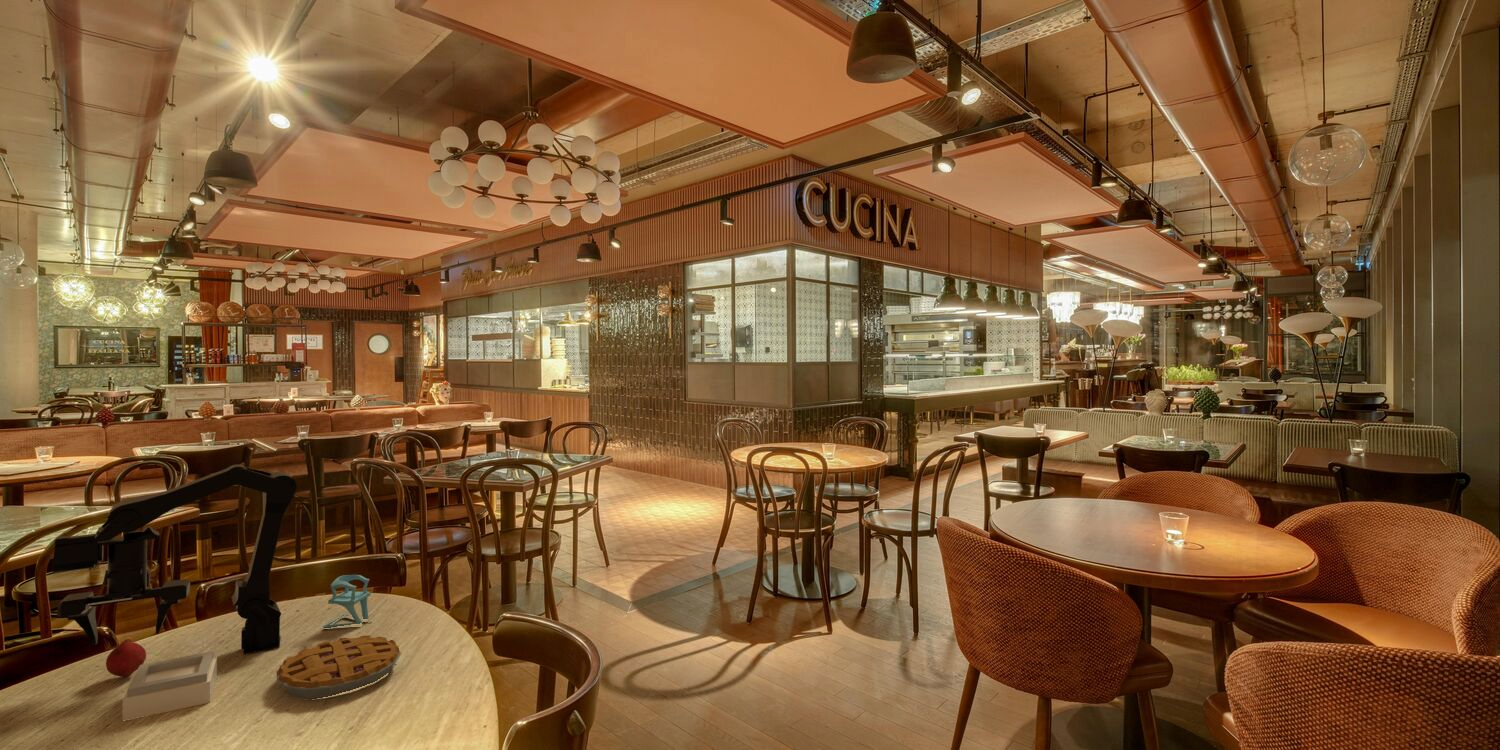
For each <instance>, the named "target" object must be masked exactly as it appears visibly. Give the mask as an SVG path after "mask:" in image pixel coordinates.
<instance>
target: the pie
mask: <svg viewBox="0 0 1500 750" xmlns="http://www.w3.org/2000/svg"><path fill="white" fill-rule="evenodd" d="M401 655H402V653H401V650H400V648H399V645H397V643H396V641H395V640H394V639H389V640H388V639H387V637H384V636H376V637H373V636H371V635H366V634H365V635H361V636H359V637H352V638H351V637H340V638H339V639H338V640H334V641H331V642H330V641H324V642H321V643H318V644H317V645H316V646H314V647H311V648H304V649H302V650H300V651H298V652H297V653H296V654H295V655H293V656H288V657H286V658H285V659H284V660H283V662H282V664H280V665H279V668H278V669H277V670H276V681H277V682H278V683H279V684H281V685H282V687H283V688H284V689H285V692H287V693H288V694H290V695H291V696H292V697H294V698H295V697H296V699H300V698H301V700H305V699H306V701H313V700H312V699H317V698H323V697H328V696H332V695H336V694H339V693H342V692H346V691H350V690H353V689H356V688H359V687H362V686H365V685H367V684H370V683H373V682H375V681H377V680H378V679H380V678H381V677H383V676H384V675H386V674H387V673H389V672H390V673H391V671H392V669H393V667H394V665H395V664H396V663H397V662H398V660H399V658H400V656H401ZM390 670H391V671H390ZM390 673H389V674H390Z"/></svg>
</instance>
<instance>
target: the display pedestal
mask: <svg viewBox="0 0 1500 750" xmlns="http://www.w3.org/2000/svg"><path fill="white" fill-rule="evenodd" d="M214 655H215V652H214V651H208V652H204V653H203V652H202V653H196V654H191V655H187V656H181V657H175V658H170V659H165V660H160V661H155V662H149V663H143V664H142V665H140V666H139V668H138V669H137V670H136V671H135V673H134V676H133V678H132V680H131V682H130V683H129V686H128V688H127V689H126V693H125V694H124V696H123V698H122V721H123V720H127V719H132V718H137V717H141V718H143V717H142V716H146V717H148V716H147V715H150V716H154V715H153V714H155V715H159V714H163V713H167V712H172V711H177V710H182V709H185V708H191V707H195V706H199V705H203V704H204V705H205V704H209V703H211V699H212V694H213V693H214V687H215V685H216V680H217V677H218V676H217V674H218V657H217V656H216V657H215V656H214ZM137 719H138V718H137ZM132 720H133V719H132Z"/></svg>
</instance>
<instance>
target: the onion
mask: <svg viewBox="0 0 1500 750" xmlns="http://www.w3.org/2000/svg"><path fill="white" fill-rule="evenodd" d="M132 640H133V639H132V637H126V638H125V639H124V640H123V641H122V642H121V643H120V644H119V645H117V646H116V647H115V648H113V649H112V651H110V653H109V654H108V655H107V658H106V660H105V667H106V670H107V671H108V673H109V674H110V675H113V676H117V677H121V678H129V677H130V676H132V675H133V674H135V673H136V672H137V670H138V668H139V666H140V665H142V664H145V661H146V660H147V652H146V649H145V648H144V647H143V646H142V645H141V644H139V643H137V642H134V641H132Z"/></svg>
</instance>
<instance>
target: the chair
mask: <svg viewBox="0 0 1500 750" xmlns="http://www.w3.org/2000/svg"><path fill="white" fill-rule="evenodd" d="M354 580H358V581H361V582H363V583H364V584H363V587H362V591H356V590H357V585H353V584H351V583H349V582H352V581H354ZM369 582H370V578H366V577H364V576H363V575H360V574H348V575H347V574H345V575H341V576H338V577H336V578H335V580H334V581H333V582H331V584H330V589H331V592H332V597H331V598H330V599H328V602H327V603H328V604H330V605H338V606H340V607H341V606H342V607H343V608H345V609H346V610H347V612H349V615H348V613H342V614H341V615H339V616H338V617H336V618H334V619H332V620H331V621H329V622H328V623H326V624H324V625H323V626H322V629H323V628H331V627H337V626H344V625H351V624H360V623H363V622H362V621H361V619H360V618H359V617H360V616H359V615H358V613H357V611H356V609H355V605H356V604H358V603H360V607H361V613H362V614H361V617H363V619H369V620H370V617H369V607H368V597H369V596H371V591H368V589H367V587H368V584H369ZM339 588H344V591H342V592H341V593H340V594H337V591H336V589H339ZM346 614H347V615H346ZM344 615H346V616H351V615H352V617H353V618H354V620H355V621H354V622H347V623H335V624H333V625H330V624H332V623H333V622H335V621H336V620H337V619H339V618H340V617H342V616H344ZM363 624H364V623H363Z"/></svg>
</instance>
